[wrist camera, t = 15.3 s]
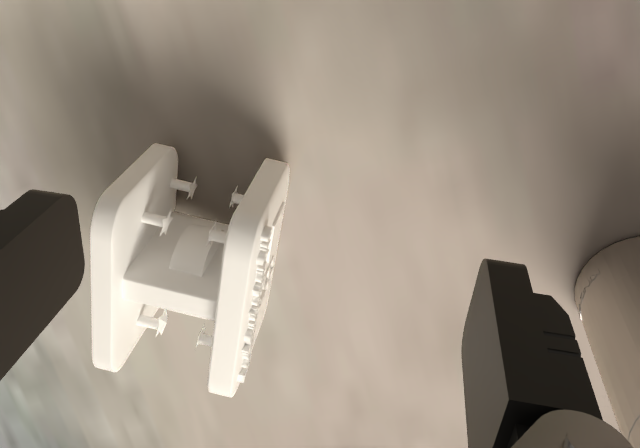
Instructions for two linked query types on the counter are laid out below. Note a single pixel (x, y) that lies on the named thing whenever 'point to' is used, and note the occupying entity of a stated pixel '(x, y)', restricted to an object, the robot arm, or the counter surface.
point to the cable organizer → (183, 264)
